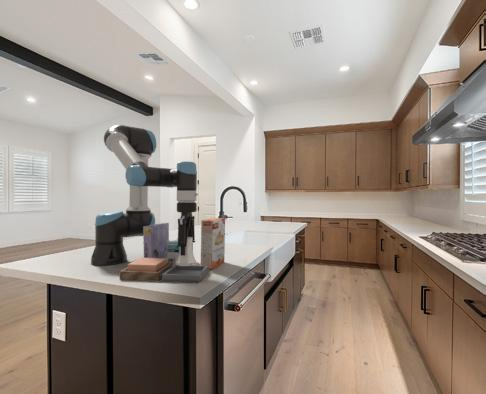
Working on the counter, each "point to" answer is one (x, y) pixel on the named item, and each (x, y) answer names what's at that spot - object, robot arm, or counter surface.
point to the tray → (185, 273)
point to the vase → (190, 254)
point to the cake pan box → (156, 240)
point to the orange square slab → (147, 264)
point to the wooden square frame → (144, 273)
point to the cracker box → (212, 242)
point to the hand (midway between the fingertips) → (186, 261)
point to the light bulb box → (173, 251)
